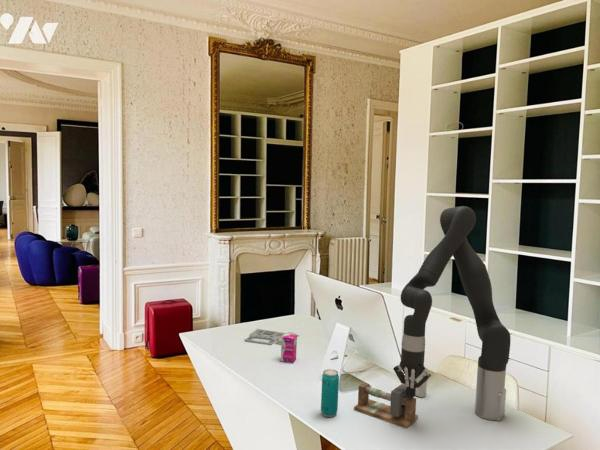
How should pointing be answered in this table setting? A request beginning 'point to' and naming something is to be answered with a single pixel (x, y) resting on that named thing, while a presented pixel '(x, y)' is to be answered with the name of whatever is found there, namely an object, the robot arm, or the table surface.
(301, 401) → the table surface
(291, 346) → the supplement box
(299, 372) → the table surface
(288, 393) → the table surface
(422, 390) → the photo printer
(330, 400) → the beverage can
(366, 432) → the table surface
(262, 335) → the office telephone
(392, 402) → the collar
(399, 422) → the rail
